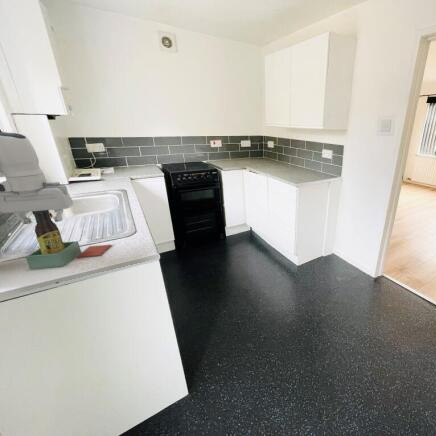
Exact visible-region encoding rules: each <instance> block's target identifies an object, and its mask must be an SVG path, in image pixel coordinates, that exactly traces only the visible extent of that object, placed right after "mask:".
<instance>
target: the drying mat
mask: <svg viewBox="0 0 436 436" xmlns="http://www.w3.org/2000/svg"><path fill="white" fill-rule="evenodd" d="M111 247H112V244H104V245H102V244H101V245H93V246H92V245H90V246H89V247H87V248H86V249H84V250H83V251H81V253H80V254H79V255H78V256H76V259H80V258H92V257H101V256H102V255H103V254H104V253H105V252H106V251H107V250H109V249H110V248H111Z"/></svg>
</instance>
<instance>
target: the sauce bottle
mask: <svg viewBox="0 0 436 436" xmlns="http://www.w3.org/2000/svg"><path fill="white" fill-rule="evenodd" d="M31 212H32V215H34V219H35V222H36V224H35V226H34V233H35V235H36V236H35V237H36V240H37V243H38V247H39V248H40V249H41V252H42V255H44V254H55V253H59V252H61V251H62V250H64V249H65V247H64V244H63V242H64V241H63V239H62V236H61V235H62V234H61V231H60V228H59V227H58V226H57V224H56V222H55V221H53V220H52V218H51V216H50V210H44V211H31Z"/></svg>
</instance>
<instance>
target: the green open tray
mask: <svg viewBox="0 0 436 436" xmlns="http://www.w3.org/2000/svg"><path fill="white" fill-rule="evenodd" d="M63 244H64V247H65V249H64V250H62V251H61V252H59V253H55V254H44V255H42V252H41V249H40V247H39V248H37V249H36V250H34V251H32V252H30V253H29V254H27V255H25V257H24V258H25V260H26V262H27V265H28V267H29V269H30V270H37V269H38V270H39V269H49V268H58V267H65V266H66V265H67V264H69V263H70V262H71V261H72V260H74V259H75V258H77V256H78V255H79V254H81V253H82V249H81V247H80V243H79V240H78V241H77V240H75V241H74V240H73V241H63Z"/></svg>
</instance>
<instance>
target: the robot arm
mask: <svg viewBox="0 0 436 436" xmlns="http://www.w3.org/2000/svg"><path fill="white" fill-rule="evenodd" d="M39 161H40V160H39V157H38V154H37V152H36V149H35V147H34V146H33V144H32V142H31V140H30V139H29V138H28V137H27V136H26V135H24V134H20V133H17V132H6V131H5V132H4V131H2V130H0V175H4V177H5V180H4V181H2V182H0V213H2V214H13V215H14V216H15V217H17V218H18V219H19V220H21V223H22V224H23V225H30V224H32V223H33V221H32V218H31V217H28V216H26V215H25V212H26V213H29V212H32V211H44V210H49V211H53V212H54V213H55V216H53V217H52V218H53V220H54V221H53V222H54V223H59V222H62V221H63V220H64V219H63V217H62V216H63V214H64V213H63V212H64V210H67V209H70V208H72V207H73V205H74V201H73V199H72V197H71V195H70V193H69V191H68V188H67V186H66V185H65V184H63V183H61V182H59V181H56V182H47V179H46V177H45V173H44V171H43V170H42V169H41V167H40V162H39Z"/></svg>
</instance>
